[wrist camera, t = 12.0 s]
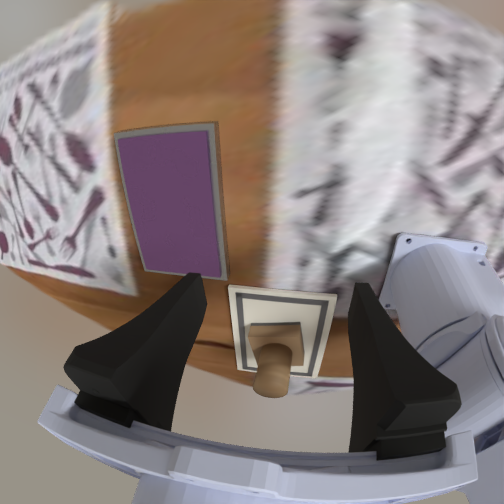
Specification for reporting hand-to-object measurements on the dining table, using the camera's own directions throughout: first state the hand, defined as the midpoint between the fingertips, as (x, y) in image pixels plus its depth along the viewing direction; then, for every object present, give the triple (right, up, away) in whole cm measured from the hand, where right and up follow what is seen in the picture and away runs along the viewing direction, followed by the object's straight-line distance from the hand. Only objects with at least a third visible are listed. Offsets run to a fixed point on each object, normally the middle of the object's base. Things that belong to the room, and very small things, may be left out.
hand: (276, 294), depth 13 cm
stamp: (+2, -7, +16) cm, 18 cm away
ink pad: (-7, +6, +10) cm, 14 cm away
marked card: (+2, -7, +17) cm, 18 cm away
